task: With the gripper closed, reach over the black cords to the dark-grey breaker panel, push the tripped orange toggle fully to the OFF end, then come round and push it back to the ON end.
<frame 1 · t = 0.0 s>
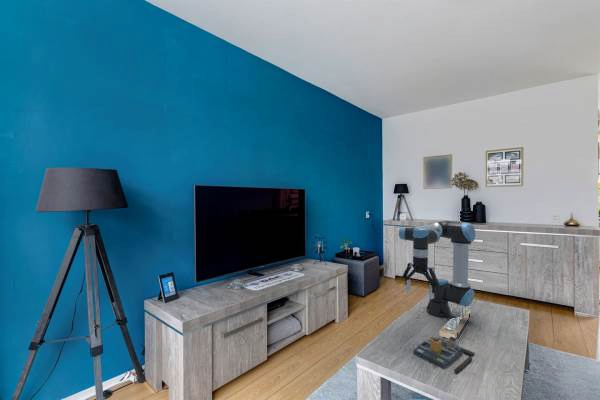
hand: (419, 294, 152), 28 cm above the table, fingers open, 13 cm apart
cord front: (452, 347, 150), on the table
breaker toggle: (435, 345, 143), point 5 cm above the table, slide at 0.0 cm
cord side: (463, 366, 134), on the table
breaker panel: (437, 354, 144), on the table
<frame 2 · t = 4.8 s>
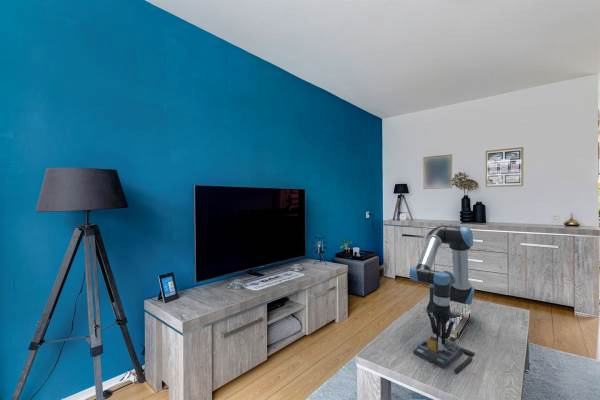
hand: (440, 349, 141), 4 cm above the table, fingers closed
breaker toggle: (433, 344, 144), point 5 cm above the table, slide at -1.4 cm, touching gripper
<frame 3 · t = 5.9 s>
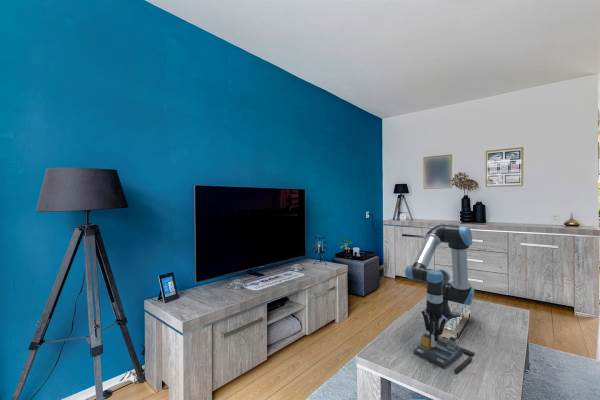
hand: (433, 346, 144), 4 cm above the table, fingers closed
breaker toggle: (426, 341, 147), point 5 cm above the table, slide at -5.0 cm, touching gripper
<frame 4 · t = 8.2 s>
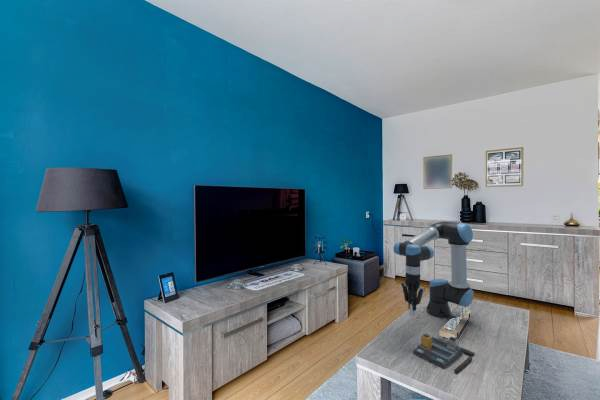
hand: (412, 315, 153), 16 cm above the table, fingers closed
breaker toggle: (426, 341, 147), point 5 cm above the table, slide at -5.0 cm
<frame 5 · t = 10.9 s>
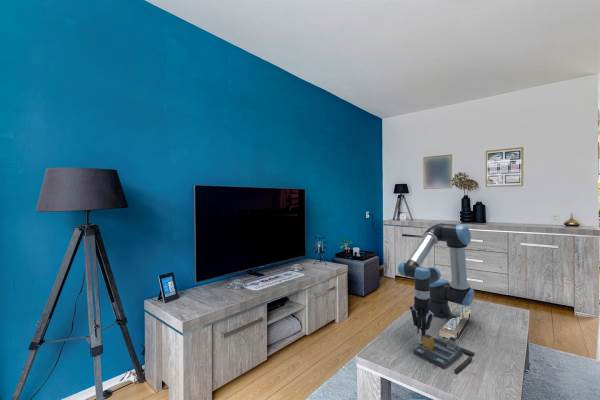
hand: (421, 340, 149), 4 cm above the table, fingers closed
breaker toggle: (428, 341, 146), point 5 cm above the table, slide at -4.1 cm, touching gripper
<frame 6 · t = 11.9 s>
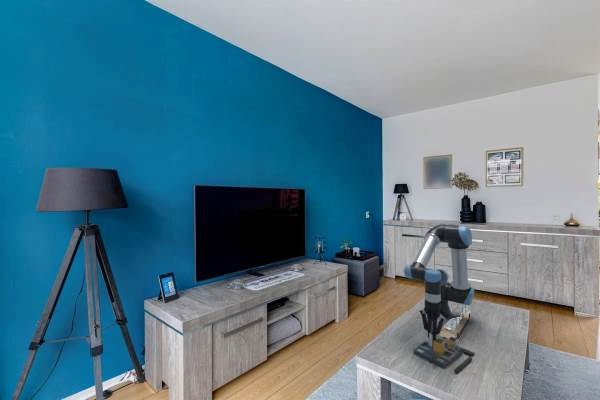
hand: (431, 345, 144), 4 cm above the table, fingers closed
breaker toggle: (439, 346, 142), point 5 cm above the table, slide at 1.7 cm, touching gripper
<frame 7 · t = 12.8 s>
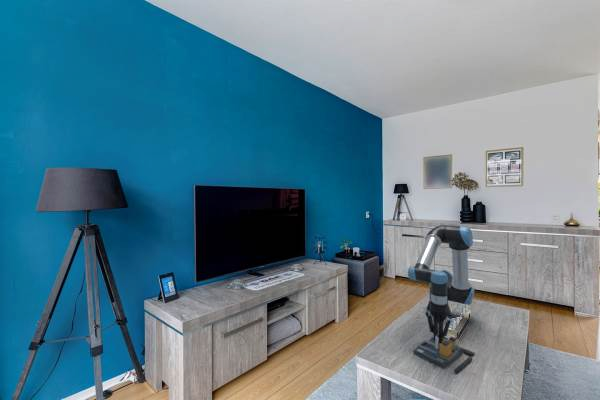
hand: (437, 347, 142), 4 cm above the table, fingers closed
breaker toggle: (445, 349, 139), point 5 cm above the table, slide at 4.8 cm, touching gripper
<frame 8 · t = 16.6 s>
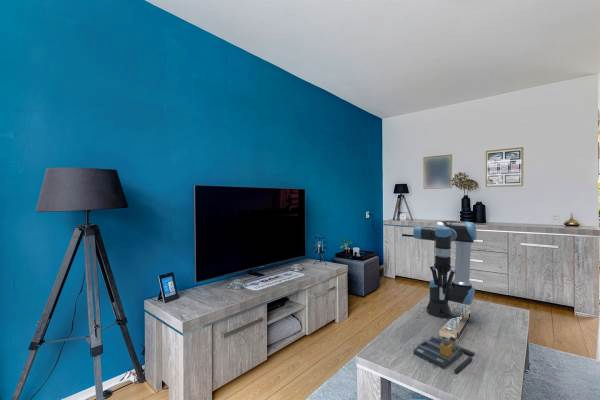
hand: (442, 299, 150), 26 cm above the table, fingers closed
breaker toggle: (445, 349, 139), point 5 cm above the table, slide at 5.0 cm
at the end: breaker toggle slide at 5.0 cm; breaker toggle touching nothing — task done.
